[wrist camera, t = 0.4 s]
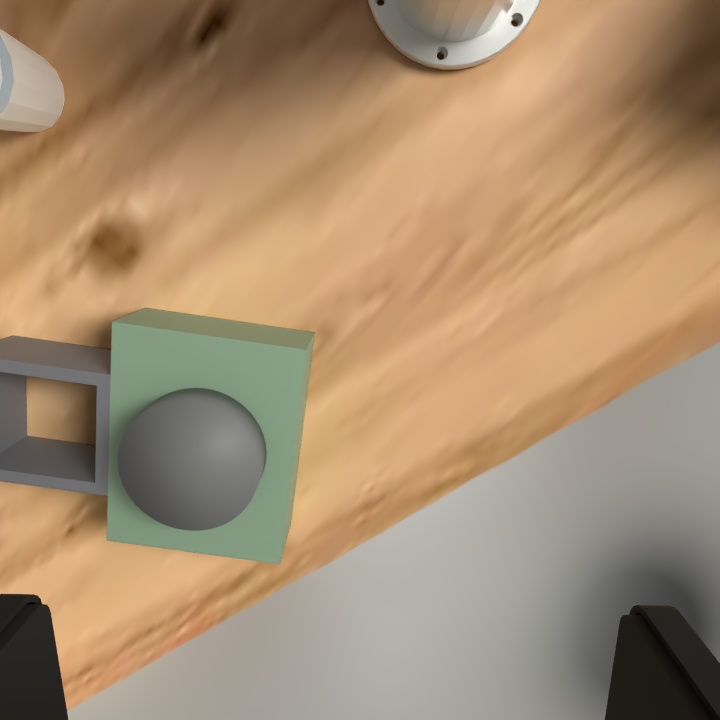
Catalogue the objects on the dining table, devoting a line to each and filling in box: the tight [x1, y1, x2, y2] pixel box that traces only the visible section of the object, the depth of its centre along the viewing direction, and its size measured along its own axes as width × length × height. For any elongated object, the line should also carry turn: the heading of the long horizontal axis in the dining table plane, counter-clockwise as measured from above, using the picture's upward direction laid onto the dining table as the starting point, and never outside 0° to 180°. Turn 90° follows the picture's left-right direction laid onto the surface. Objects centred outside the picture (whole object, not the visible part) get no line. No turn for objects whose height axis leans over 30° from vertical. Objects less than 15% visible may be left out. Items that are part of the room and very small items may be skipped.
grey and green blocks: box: [0, 308, 315, 564], centre depth 42 cm, size 18×25×9 cm
